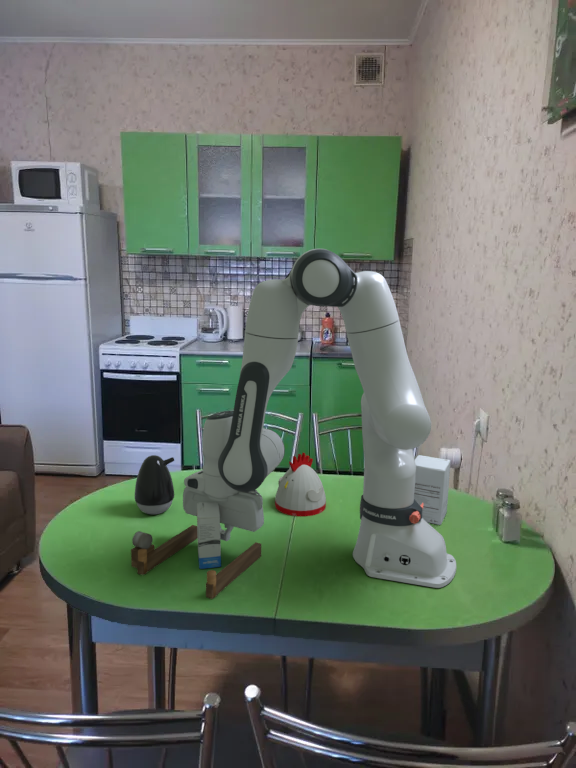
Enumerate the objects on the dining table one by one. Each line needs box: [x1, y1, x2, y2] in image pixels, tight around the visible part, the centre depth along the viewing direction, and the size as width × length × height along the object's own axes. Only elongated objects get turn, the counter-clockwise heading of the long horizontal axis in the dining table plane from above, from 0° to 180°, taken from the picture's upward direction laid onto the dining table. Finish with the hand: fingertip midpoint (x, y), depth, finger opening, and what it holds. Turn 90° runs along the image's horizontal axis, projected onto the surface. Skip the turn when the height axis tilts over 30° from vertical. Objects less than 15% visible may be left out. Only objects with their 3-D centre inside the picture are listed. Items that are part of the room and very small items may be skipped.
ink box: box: [196, 502, 222, 570], centre depth 121 cm, size 9×5×12 cm, turn 10°
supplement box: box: [414, 455, 451, 526], centre depth 145 cm, size 9×9×15 cm
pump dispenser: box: [134, 454, 175, 515], centre depth 145 cm, size 10×10×15 cm
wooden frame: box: [130, 524, 262, 600], centre depth 120 cm, size 22×19×7 cm
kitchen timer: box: [274, 452, 327, 517], centre depth 149 cm, size 14×14×15 cm
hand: (222, 538), depth 127 cm, fingers closed
